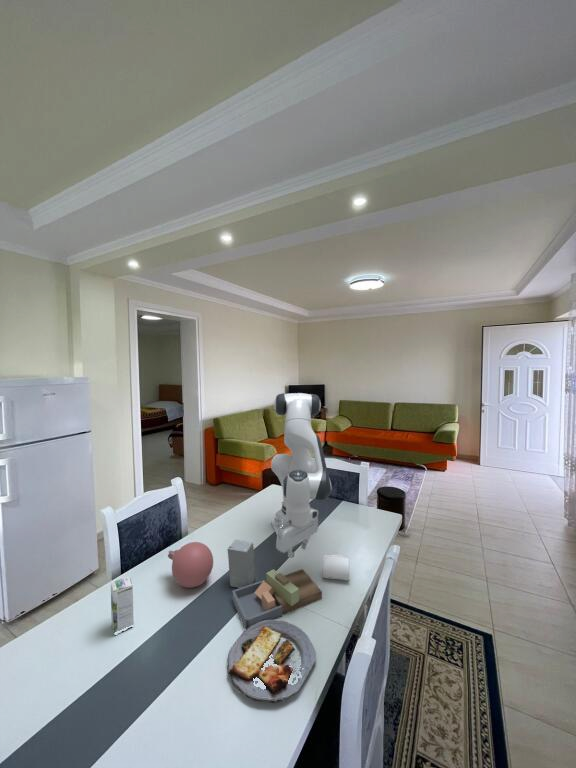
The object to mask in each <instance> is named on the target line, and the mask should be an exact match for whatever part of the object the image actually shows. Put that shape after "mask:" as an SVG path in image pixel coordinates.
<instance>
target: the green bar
mask: <svg viewBox="0 0 576 768" xmlns="http://www.w3.org/2000/svg"><path fill="white" fill-rule="evenodd" d="M284 575H285V574H282V573H281V572H278V571H277V570H275V569H274V568H273V569H271V570H270V571H268V572H266V573H265V581H266V583H267V584H268V585H270V586H271V587H272V588H273V590H274V591H275V593H276V594H278V595H279V596H280V597H281V598H282V599H284V600H285V601H286V602H287V603H288V604H289V605H291V606H293V605H294V604H296V603H297V602H298V601H299V588H297V587H296V586H295V585H293V584H292V583H291V582H290V581H289V579H288V578H286V577H285V576H284Z"/></svg>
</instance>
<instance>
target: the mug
mask: <svg viewBox="0 0 576 768" xmlns="http://www.w3.org/2000/svg"><path fill="white" fill-rule="evenodd" d="M322 576H323V578H326V579H332V580H339V581H340V580H341V581H346V582H347V581H350V557H349V556H348V557H346V556H344V555H342V554H338V553H337V554H332V555H329V554H324V556H323V562H322Z"/></svg>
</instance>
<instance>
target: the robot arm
mask: <svg viewBox="0 0 576 768" xmlns="http://www.w3.org/2000/svg"><path fill="white" fill-rule="evenodd" d="M321 407H322V403H321V399H320V397H319V396H318V395H317V394H313V393H309V394H308V393H303V392H297V393H296V392H294V393H293V392H292V393H285V392H283V393H278V394H277V395H276V397H275V399H274V401H273V408H274V411H275V413H276V414H277V415H279V416H282V417H284V416H285V421H284V434H283V435H284V440H283V443H284V445H285V446H286V447H287V448H288V449H289V450H290V452H291V454H287V453H277V454H275V455H274V456H273V457H272V459H271V460H270V461H271V462H270V469H271V471H272V472H273V473H274V474H275V475H276V477H277V478H278V480H279V482H280V485H281V487H282V488H281V489H282V501H283V502H281V508H280V510H278V511H277V512H275V517H274V518H273V519H272V520H271V522H270V523H271V525H272V528H273V530H274V532H275V534H276V541H275V548H276V549H277V551H279V552H280V553H283V554H285V553H287V557H288V558H289V559H291V560H292V559H293V558H294V557H295V552H294V551H293V549H294V547H296V546H297V545H299V544H301V545H300V546H301V547H300V548H301V549H302V550H306V549H307V548H308V544H309V541H310V537H311V536H312V535H314V534H316V533H317V532H318V529H319V517H318V516H319V510H318V509H316V508H313V507H311V506H310V500H317V501H325V500H327V499H328V498H329V497H330V496H331V494H332V482H331V479H330V476H329V473H328V467H327V463H326V458H325V454H324V449H323V445H322V441H321V439H320V436H319V435H318V434H317V433H315V431H314V429H313V427H312V417H315V416H317V415H318V414H319V413H320V411H321ZM310 452H311V453H312V454H313V457H312V455H311V453H310Z"/></svg>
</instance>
